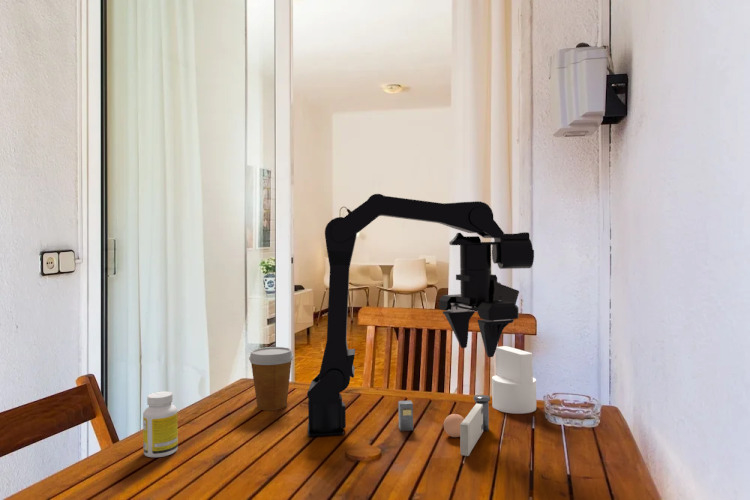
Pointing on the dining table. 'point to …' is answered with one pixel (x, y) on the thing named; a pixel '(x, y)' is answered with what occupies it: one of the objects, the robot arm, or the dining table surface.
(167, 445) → the supplement bottle
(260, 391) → the disposable coffee cup
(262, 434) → the dining table surface
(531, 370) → the base with upright slab
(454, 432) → the ball
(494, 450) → the dining table surface
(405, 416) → the post
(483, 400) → the hinge post
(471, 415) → the long white bar
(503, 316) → the robot arm
